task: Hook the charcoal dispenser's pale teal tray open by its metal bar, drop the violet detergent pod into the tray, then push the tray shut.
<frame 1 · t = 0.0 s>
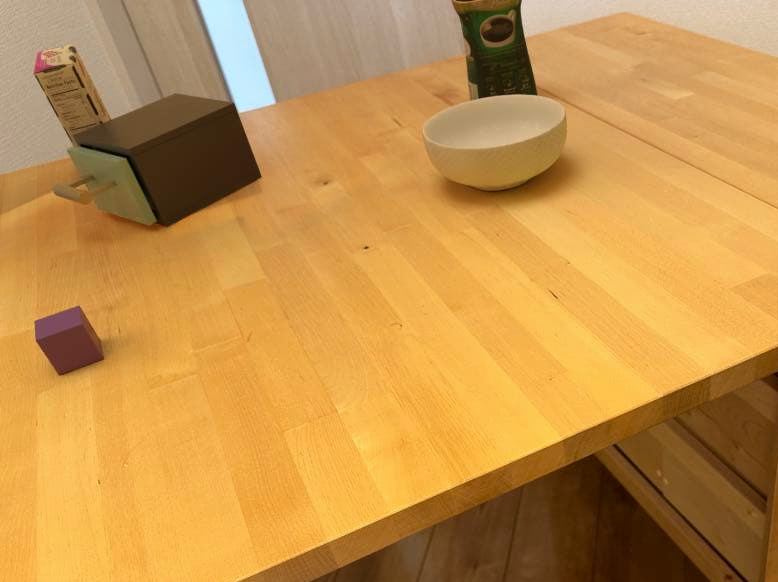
green coffee bag: (504, 106, 111), on the table
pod: (80, 357, 72), on the table
dispenser: (187, 193, 100), on the table
candy bar box: (116, 179, 108), on the table
dispenser tray: (139, 172, 94), point 5 cm above the table, slide at 0.5 cm
cereal bowl: (502, 178, 92), on the table
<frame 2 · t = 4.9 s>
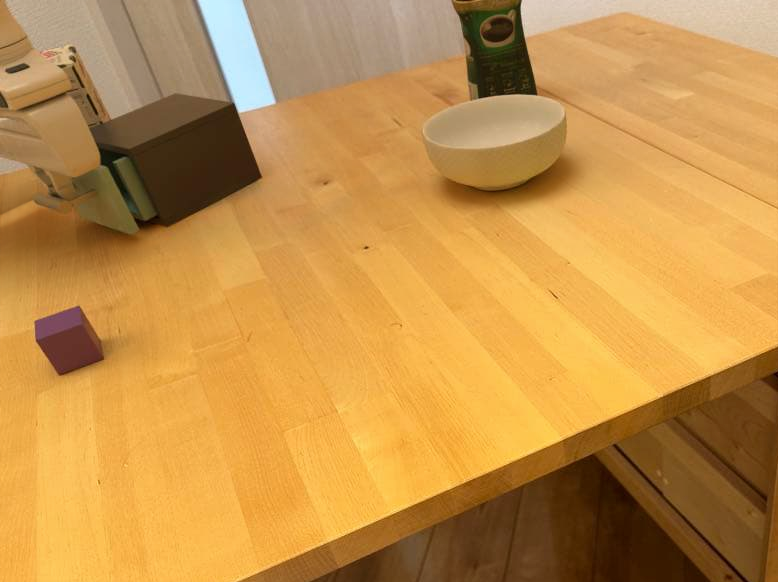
hand: (66, 199, 88), 6 cm above the table, tool pointing down, fingers closed, pressing on dispenser tray
dispenser tray: (122, 180, 93), point 5 cm above the table, slide at 2.9 cm, touching gripper
everything else where it was.
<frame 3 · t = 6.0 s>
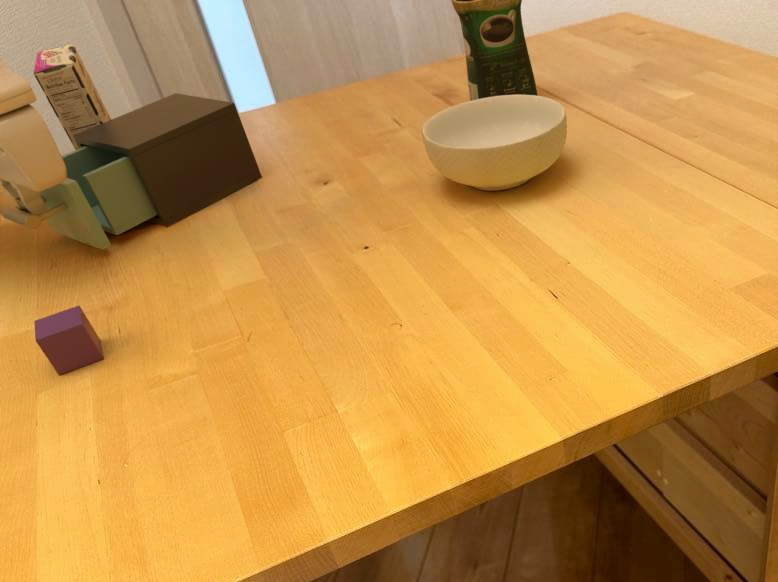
hand: (35, 211, 86), 6 cm above the table, tool pointing down, fingers closed
dispenser tray: (93, 193, 91), point 5 cm above the table, slide at 6.7 cm
everything else where it was.
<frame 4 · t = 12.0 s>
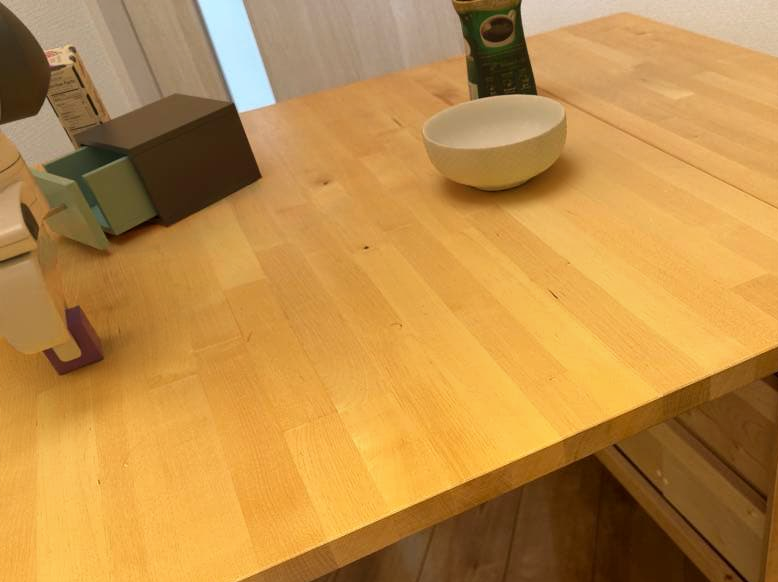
hand: (70, 342, 71), 2 cm above the table, tool pointing down, fingers closed on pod, 4 cm apart
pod: (80, 356, 72), on the table, touching gripper
everything else where it was.
when the fingers open (10 cm above the table, at t = 18.9 s): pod drops 6 cm, resting on dispenser tray.
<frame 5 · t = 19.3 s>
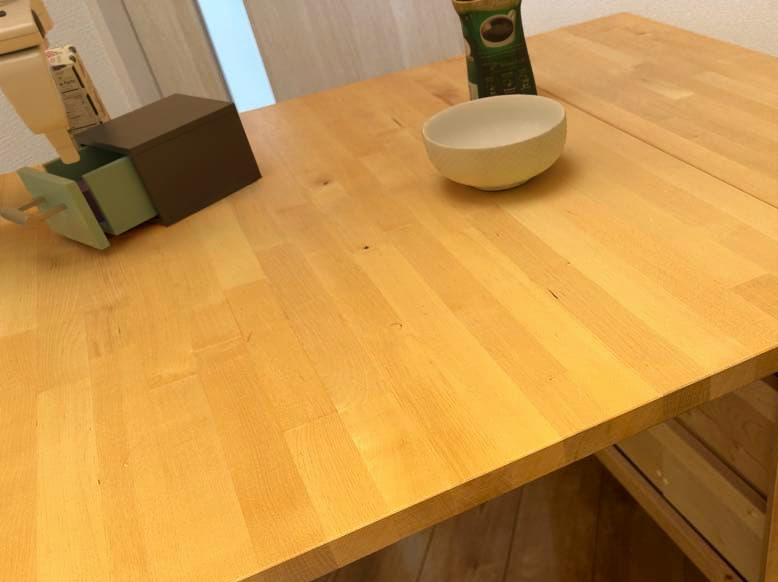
hand: (70, 149, 87), 10 cm above the table, tool pointing down, fingers open, 7 cm apart
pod: (105, 214, 92), point 2 cm above the table, touching dispenser tray
dispenser tray: (93, 193, 90), point 5 cm above the table, slide at 6.8 cm, touching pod
everything else where it was.
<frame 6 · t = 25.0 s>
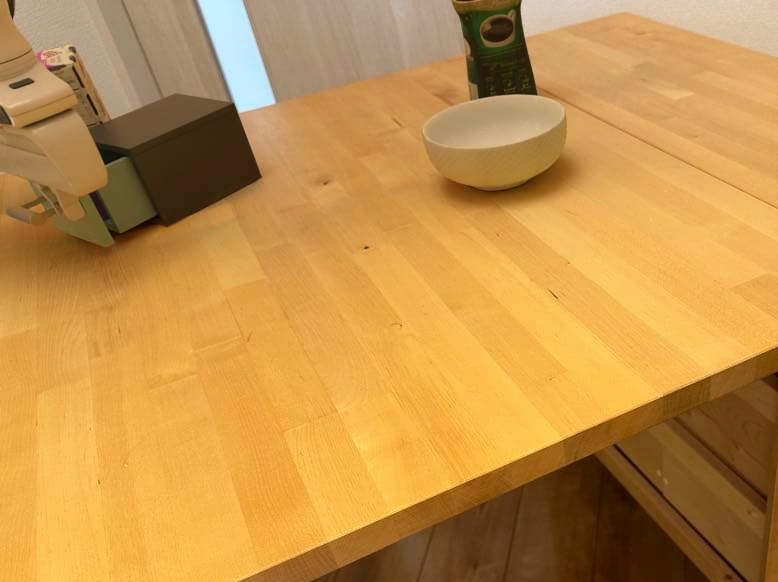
hand: (73, 216, 85), 5 cm above the table, tool pointing down, fingers closed
dispenser tray: (97, 191, 91), point 5 cm above the table, slide at 6.2 cm, touching gripper, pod
everything else where it was.
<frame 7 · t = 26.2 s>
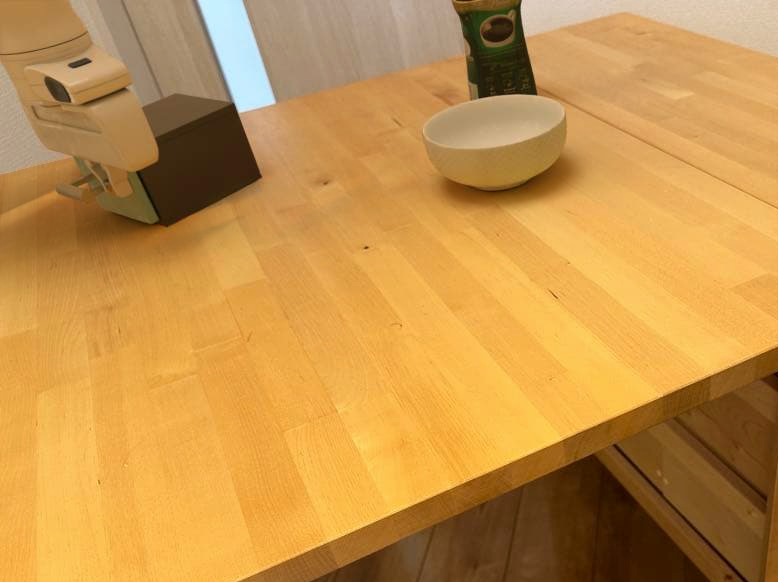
hand: (120, 194, 89), 5 cm above the table, tool pointing down, fingers closed, pressing on dispenser tray
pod: (152, 191, 96), point 2 cm above the table, touching dispenser tray
dispenser tray: (141, 171, 94), point 5 cm above the table, slide at 0.2 cm, touching gripper, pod
everything else where it was.
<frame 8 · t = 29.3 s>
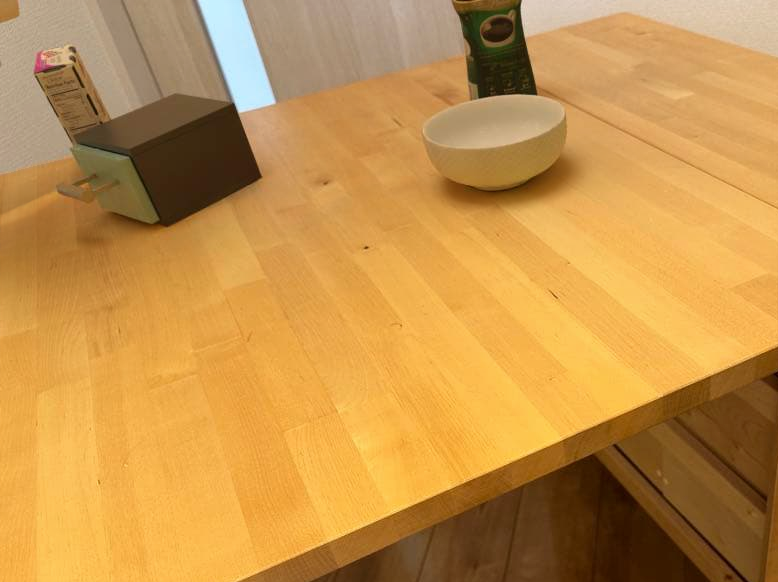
dispenser tray: (142, 171, 94), point 5 cm above the table, slide at 0.1 cm, touching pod
everything else where it was.
at the end: dispenser tray pulled out 6.8 cm at the most during the clip, back to where it started at the end; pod inside the target area in the dispenser (4.1 cm from its centre), point 2.1 cm above the dispenser's base; dispenser tray slide at 0.1 cm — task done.
